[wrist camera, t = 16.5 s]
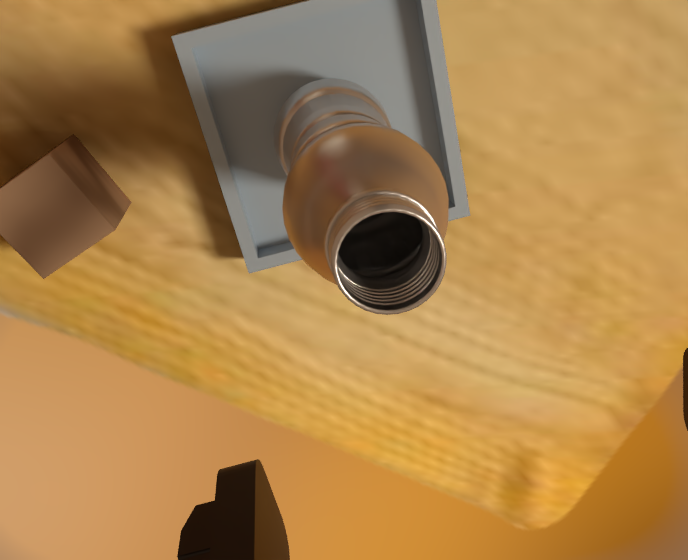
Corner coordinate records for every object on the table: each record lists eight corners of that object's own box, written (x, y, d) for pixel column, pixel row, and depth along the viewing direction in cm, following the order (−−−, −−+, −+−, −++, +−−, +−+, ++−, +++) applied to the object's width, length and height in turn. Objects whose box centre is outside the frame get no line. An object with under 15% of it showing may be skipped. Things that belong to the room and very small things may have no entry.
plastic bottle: (331, 46, 36) (398, 107, 18) (407, 135, 39) (533, 266, 21) (249, 126, 38) (235, 258, 19) (328, 207, 40) (381, 390, 22)
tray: (176, 33, 36) (171, 36, 34) (421, -31, 36) (431, -32, 34) (249, 258, 42) (249, 273, 40) (459, 203, 42) (470, 215, 40)
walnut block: (8, 181, 38) (-26, 207, 34) (74, 133, 38) (48, 154, 33) (67, 246, 40) (43, 278, 36) (131, 201, 40) (115, 229, 35)
